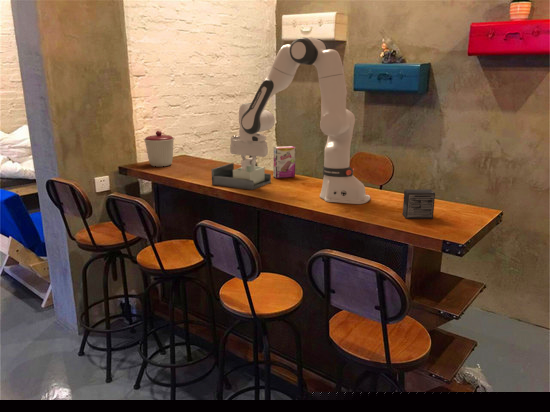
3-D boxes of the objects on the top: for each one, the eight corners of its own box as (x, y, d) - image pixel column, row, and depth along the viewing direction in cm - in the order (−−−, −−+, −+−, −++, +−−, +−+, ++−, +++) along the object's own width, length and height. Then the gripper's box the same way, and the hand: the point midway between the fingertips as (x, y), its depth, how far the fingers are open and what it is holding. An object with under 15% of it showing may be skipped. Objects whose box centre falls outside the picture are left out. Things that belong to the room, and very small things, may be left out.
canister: (139, 166, 273) (136, 131, 267) (158, 161, 289) (155, 128, 283) (164, 169, 266) (161, 133, 260) (182, 163, 282) (179, 129, 276)
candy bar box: (276, 178, 241) (276, 148, 237) (273, 176, 246) (272, 146, 241) (295, 177, 245) (295, 147, 240) (292, 175, 250) (292, 145, 245)
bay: (270, 182, 233) (270, 167, 231) (252, 190, 218) (252, 173, 216) (232, 177, 244) (231, 163, 242) (212, 184, 229) (211, 169, 227)
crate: (264, 180, 232) (264, 157, 229) (250, 186, 220) (249, 162, 217) (248, 178, 237) (247, 156, 233) (233, 183, 225) (232, 160, 222)
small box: (428, 214, 180) (431, 188, 177) (433, 219, 173) (436, 192, 170) (401, 214, 180) (403, 188, 177) (405, 219, 174) (408, 192, 171)
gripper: (227, 135, 224) (228, 163, 228) (262, 138, 215) (262, 167, 219) (234, 134, 230) (235, 161, 233) (269, 136, 220) (269, 164, 224)
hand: (248, 164), depth 226 cm, fingers closed on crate, 2 cm apart
